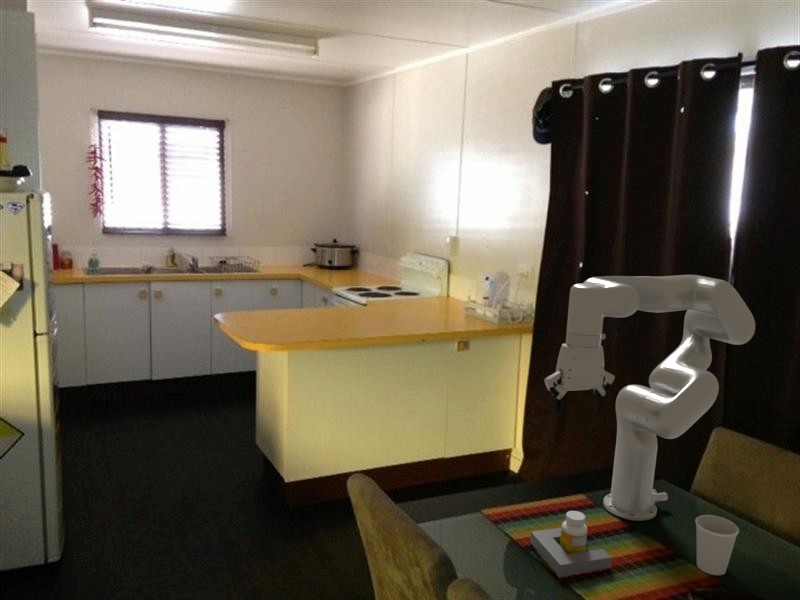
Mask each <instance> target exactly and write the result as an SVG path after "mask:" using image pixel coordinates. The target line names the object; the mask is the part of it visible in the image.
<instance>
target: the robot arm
mask: <svg viewBox="0 0 800 600" xmlns="http://www.w3.org/2000/svg"><path fill="white" fill-rule="evenodd" d="M637 311H642V312H648V313H656V314H657V313H658V314H659V313H670V312H680V311H686V312H685V315H684V320H683V332H682V333H683V334H682V339H681V341H680V344H679V345H678V347H676V348H675V350H674V351H672V352H671V353H670V354H669V355H668V356H667V357H666V358H665V359H664V360H662V361H661V362H660V363H659V364H658V365H657V366H656V367H655V368H654V369H653V370H652V372H651V373H650V375H649V378H648V384H649V387H648V386H645V385H641V384H628V385H626V386H624V387H623V388H621V390H619V392H618V394H617V396H616V400H615V414H616V415H615V416H616V440H615V442H616V443H615V450H614V459H613V468H612V478H611V487H610V488H611V489H610V493H608V494H607V495H605V496H604V497H603V501H602V502H603V506H604V508H605V509H606V511H608V512H609V513H611V514H612V515H614V516H616V517H619V518H621V519H625V520H630V521H635V522H637V521H638V522H639V521H640V522H641V521H649V520H652V519H653V518H655V517H656V515H657V511H658V508H657V506H656V505H655V504H656V503H657V502H662V501H668V499H669V495H668V493H667V492H664V491H663V492H657V490H656V489H655V488H653V487H654V480H655V470H656V463H657V454H658V438H657V436H659V437H661V438H664V439H668V440H669V439H670V440H673V439H676V438H679V437H680V436H682V435H683V434H684V433H686V432H687V431H688V430H689V429H690V428H691V427H692V426H693V425H695V423H696V422H697V421H699V419H701V417H702V416H703V415H705V414H706V413H707V412H708V411H709V409H710V408H711V407H712V406H713V405H714V403H715V402H716V401H717V397H718V395H719V390H720V386H719V381H718V379H717V377H716V376H715V374H713V373H712V372H710V371H708V369H709V368H710V366H711V363H712V360H713V357H712V356H713V353H712V349H711V344H710V343H711V342H710V339H712V340H716V341H720V342H723V343H727V344H729V345H730V344H731V345H737V346H738V345H739V346H741V345H744V344H747V343H748V342H749V341H750V340H751V339H752V338H753V336H755V335H754V334H755V332H756V331H755V330H756V321H755V318H754V315H753V314H752V312H751V310H750V308H749V307H748V305H747V304H746V302H745V301H744V300H743V298H742V297H741V295H740V293H739V292H738V291H737V290H736V288H735V287H734V286H732V284H731V283H729V282H728V281H726V280H724V279H719V278H714V277H709V276H703V275H698V274H680V275H679V274H678V275H677V274H676V275H666V276H665V275H664V276H661V275H660V276H652V275H651V276H648V275H646V276H644V275H642V276H641V275H640V276H638V275H637V276H633V275H632V276H631V275H630V276H628V275H625V276H624V275H609V276H608V275H605V276H592V277H590V278H588V279H586V280H584V281H583V283H581V282H580V283H576V284H573V285H572V286H571V287H570V291H569V298H568V311H567V324H566V335H565V343H562V344H561V346H560V349H559V353H558V358H557V363H556V367H555V372H554V373H552V374H550V375H548V376H547V377H545V378H544V380H543V381H544V384H545V386H546V389H547V391H549V393H550V394H551V396H553V397H552V398H553V399H552V400H553V401H552V412H553V413H554V414H556V415H558V416H559V417H563V416H564V408H565V400H564V398H563V397H565V395H566V394H567V392H568V391H569V392H570V391H571V392H572V391H588V390H593V392H592V393H591V403H590V409H591V410H593V412H596V413H598V414H600V413H602V408H603V401H604V399H603V398H604V397H605V396H606V395H607V394H606V393H607V392H608V391H609V389H610V388H611V387H612V384H613V382H614V381H615V378H616V376H615V375H614V374H612V373H610V372H608V371H607V370H605V354H604V347H603V345H602V341H603V340H605V339H606V337H607V335H606V334H605V333H603V326H604V325H603V324H604V318H605V317H606V318H607V317H608V318H609V317H610V318H628V317H629V316H632V315H634V314H635V313H636V312H637ZM604 378H605V379H604ZM554 384H555V385H556V386H555V385H554Z"/></svg>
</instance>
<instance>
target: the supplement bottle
mask: <svg viewBox="0 0 800 600" xmlns="http://www.w3.org/2000/svg"><path fill="white" fill-rule="evenodd" d="M585 523H586V515H585V514H584V513H583V512H581V511H579V510H578V511H577V510H569V511H567V512H566V513H565V520H564V521H563V522H562V524H561V527H560V528H561V540H560V546H561V547H562V548H563V550H564V551H565V552H566V553H567V554H571V553H578V552H585V551H586V550H587V549H586V548H587V539H588V537H587V536H588V527H587V525H586V524H585Z"/></svg>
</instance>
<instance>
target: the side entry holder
mask: <svg viewBox="0 0 800 600" xmlns="http://www.w3.org/2000/svg"><path fill="white" fill-rule="evenodd" d="M561 528H562V527H556V528H550V529H542V530H540V529H539V530H533V531H530V540H529V541H530V542H529V544H530V543H531V544H532V545H533V547H534V548H535V549H536V550H537V551H538V553H539V554H540V555H541V556H542V557H543V558H544V559H545V561H546V562H547V563H548V564H549V565H550V566H551V568H552V569H553V570H554V571H555V573H556V574H557V575H556V574H555V575H556V576H557V577H558V579H561V578H560V577H564V576H569V575H573V574H576V573H582V572H587V571H593V570H599V569H606V568H610V567H611V568H612V559H613V558H612V556H611V555H610V554H609V553H608V552H607V551H606V550H605V549H604V548H599V549H592V550H587V551H586V550H585V552H578V553H571V554H567V553H566V552H565V551H564V550H563V548H562V547H561V546H560V540H561ZM531 544H530V545H531ZM533 547H532V548H533ZM534 548H533V549H534ZM535 549H534V550H535ZM536 550H535V551H536ZM537 551H536V552H537ZM538 553H537V554H538ZM539 554H538V555H539ZM540 555H539V556H540ZM541 556H540V557H541ZM542 557H541V558H542ZM545 561H544V562H545ZM546 562H545V563H546ZM547 563H546V564H547ZM548 564H547V565H548ZM551 568H550V569H551ZM552 569H551V570H552ZM553 570H552V571H553ZM554 571H553V572H554Z"/></svg>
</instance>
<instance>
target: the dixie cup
mask: <svg viewBox="0 0 800 600" xmlns="http://www.w3.org/2000/svg"><path fill="white" fill-rule="evenodd" d="M695 524H696V527H695V528H696V532H695V533H696V536H695V537H696V566H697V567H698V569H699V570H701V571H702V572H704V573H706V574H709V575H711V576H722V575H725V574H726V572H727V568H728V567H729V561H730V559H731V555H732V552H733V549H734V546H735V543H736V539H737V536H738V534H739V533H740V530H739V527H738V526H737V524H736V523H734V522H733V521H731V520H729V519H727V518H725V517H722V516H719V515H713V514H703V515H699V516H696V518H695Z"/></svg>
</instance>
